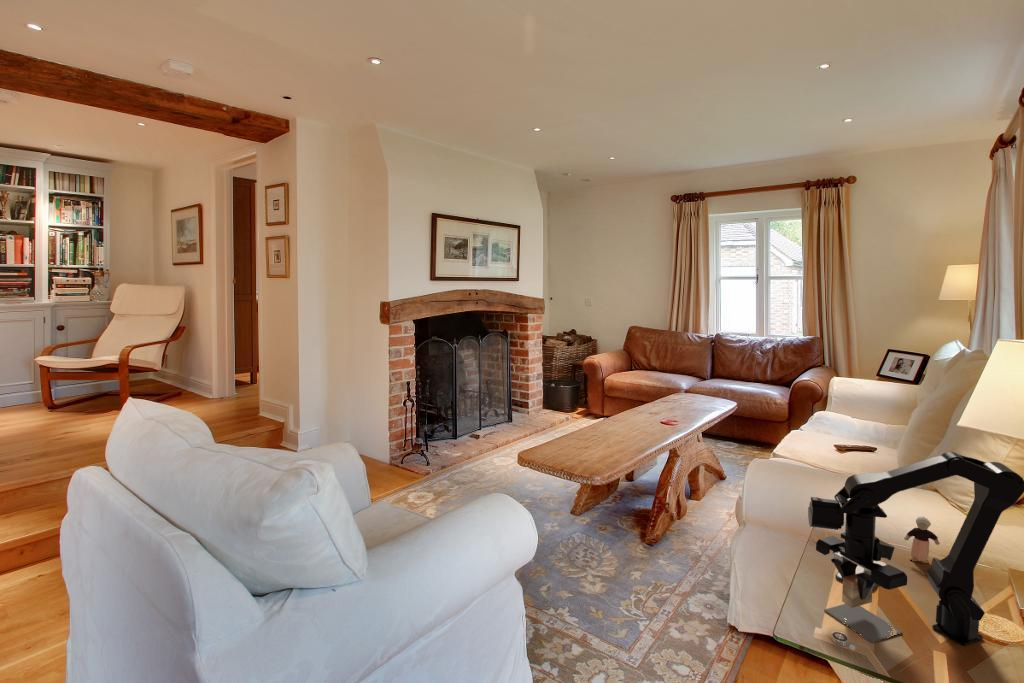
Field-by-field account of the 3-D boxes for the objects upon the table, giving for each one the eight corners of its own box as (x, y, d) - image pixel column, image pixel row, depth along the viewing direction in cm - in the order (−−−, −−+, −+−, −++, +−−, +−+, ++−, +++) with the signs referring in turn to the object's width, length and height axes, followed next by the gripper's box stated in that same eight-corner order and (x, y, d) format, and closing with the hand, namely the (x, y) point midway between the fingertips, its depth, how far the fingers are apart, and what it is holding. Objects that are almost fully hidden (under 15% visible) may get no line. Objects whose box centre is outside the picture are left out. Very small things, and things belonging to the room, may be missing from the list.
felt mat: (902, 633, 119) (902, 632, 119) (871, 643, 116) (871, 641, 116) (853, 603, 130) (853, 601, 130) (824, 611, 127) (824, 609, 127)
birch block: (871, 602, 124) (873, 577, 123) (852, 607, 122) (853, 583, 122) (861, 596, 127) (862, 572, 126) (842, 601, 125) (843, 577, 124)
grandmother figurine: (907, 562, 147) (910, 518, 145) (902, 555, 151) (904, 512, 149) (940, 566, 145) (943, 521, 143) (934, 559, 148) (937, 515, 147)
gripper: (927, 543, 116) (923, 611, 118) (850, 509, 134) (847, 568, 136) (889, 553, 113) (886, 622, 115) (815, 517, 130) (813, 577, 132)
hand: (857, 595), depth 124 cm, fingers closed on birch block, 3 cm apart
